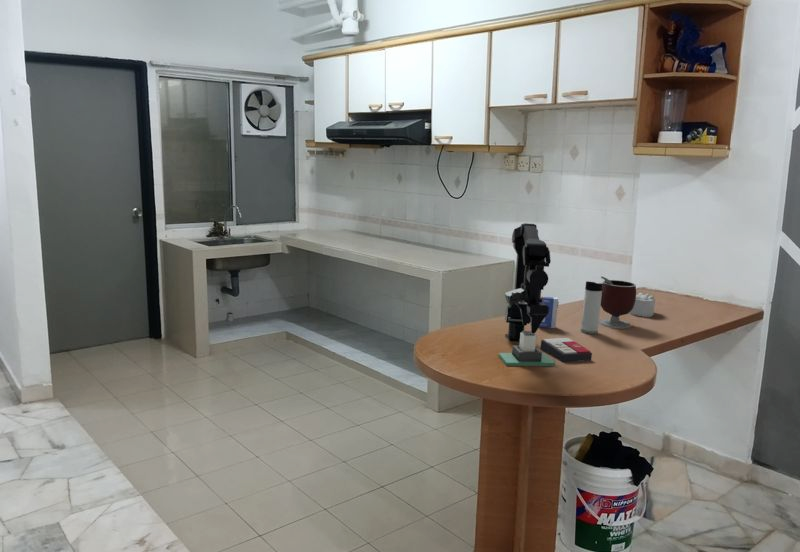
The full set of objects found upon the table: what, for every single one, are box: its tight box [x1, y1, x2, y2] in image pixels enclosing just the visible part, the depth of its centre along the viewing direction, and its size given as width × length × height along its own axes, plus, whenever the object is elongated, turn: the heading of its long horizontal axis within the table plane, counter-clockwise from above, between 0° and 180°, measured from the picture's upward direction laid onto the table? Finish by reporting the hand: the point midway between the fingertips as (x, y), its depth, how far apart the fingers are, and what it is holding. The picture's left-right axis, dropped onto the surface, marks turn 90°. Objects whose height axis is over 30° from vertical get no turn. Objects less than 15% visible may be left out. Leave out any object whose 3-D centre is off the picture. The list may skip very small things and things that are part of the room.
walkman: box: [538, 296, 559, 329], centre depth 260 cm, size 8×3×12 cm, turn 84°
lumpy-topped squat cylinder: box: [627, 292, 656, 318], centre depth 291 cm, size 10×13×9 cm
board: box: [498, 345, 556, 367], centre depth 217 cm, size 10×16×4 cm, turn 96°
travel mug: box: [580, 280, 603, 335], centre depth 254 cm, size 6×7×20 cm
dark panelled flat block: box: [539, 337, 593, 363], centre depth 226 cm, size 11×4×15 cm
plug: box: [518, 330, 538, 352], centre depth 216 cm, size 4×5×8 cm
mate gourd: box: [598, 276, 637, 329], centre depth 268 cm, size 16×14×20 cm
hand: (528, 329), depth 215 cm, fingers open, 9 cm apart
